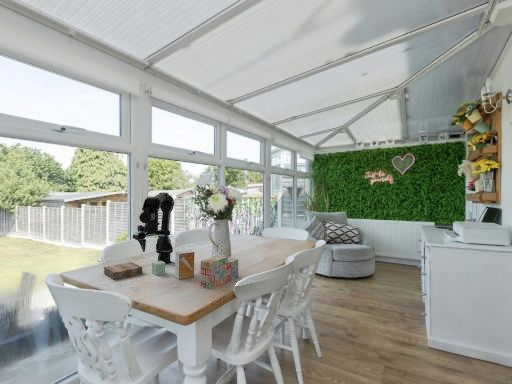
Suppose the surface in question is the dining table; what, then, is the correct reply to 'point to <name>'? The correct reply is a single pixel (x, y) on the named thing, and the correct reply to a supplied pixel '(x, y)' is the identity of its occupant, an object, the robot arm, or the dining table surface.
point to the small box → (184, 264)
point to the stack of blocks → (218, 271)
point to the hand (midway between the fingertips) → (152, 250)
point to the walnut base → (122, 270)
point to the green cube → (158, 268)
